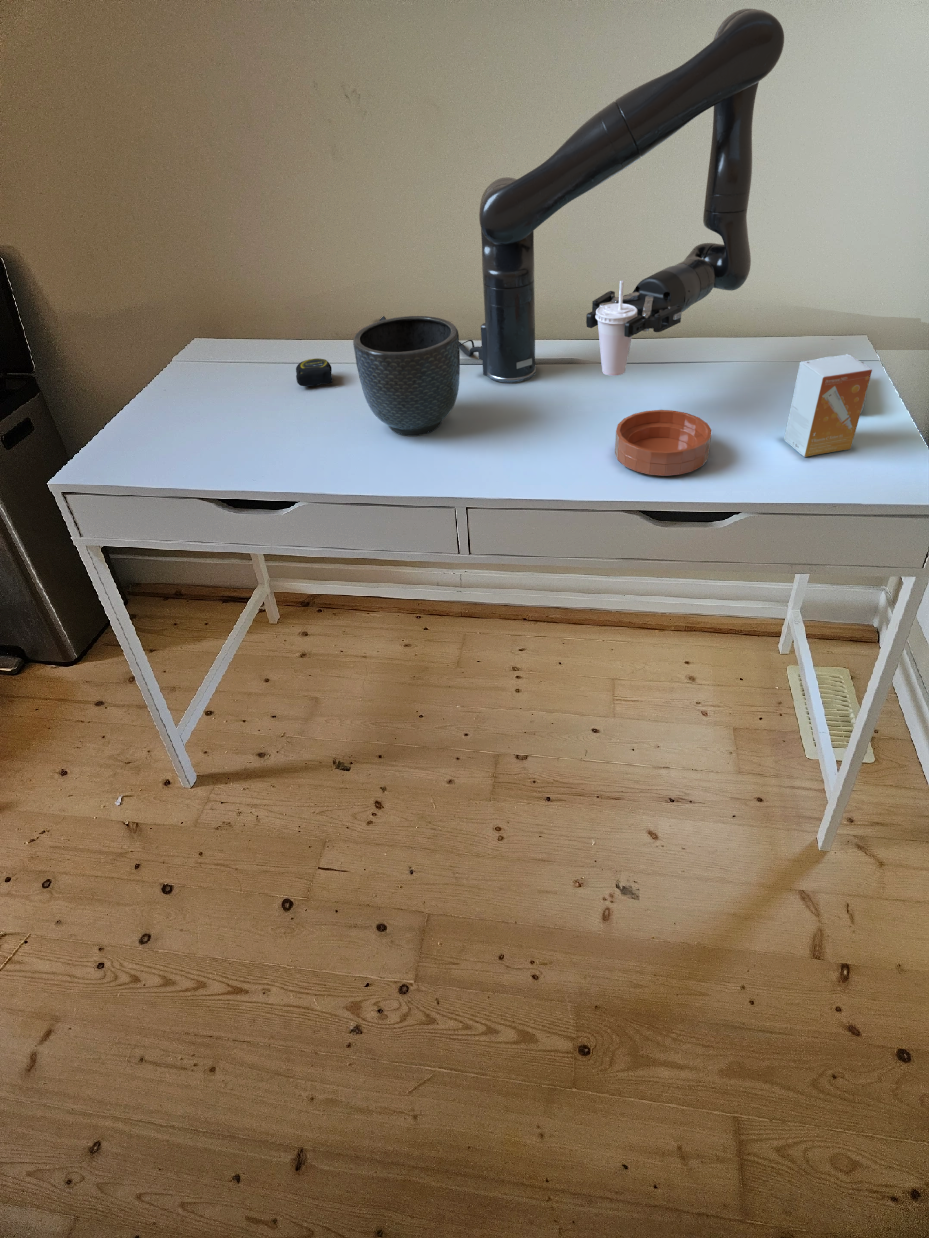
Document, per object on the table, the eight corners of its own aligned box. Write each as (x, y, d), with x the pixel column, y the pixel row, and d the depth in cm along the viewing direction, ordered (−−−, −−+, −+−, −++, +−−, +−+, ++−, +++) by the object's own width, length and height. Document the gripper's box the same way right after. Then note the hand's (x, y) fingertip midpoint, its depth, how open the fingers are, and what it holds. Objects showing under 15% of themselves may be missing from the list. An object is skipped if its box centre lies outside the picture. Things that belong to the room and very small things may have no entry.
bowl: (599, 466, 127) (600, 440, 124) (637, 428, 135) (639, 403, 133) (687, 487, 120) (690, 460, 117) (720, 446, 129) (724, 420, 126)
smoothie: (633, 379, 128) (638, 288, 119) (592, 379, 129) (594, 288, 120) (634, 363, 132) (640, 274, 123) (595, 362, 134) (597, 274, 125)
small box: (804, 458, 124) (822, 377, 116) (782, 440, 129) (798, 360, 121) (852, 450, 125) (873, 368, 117) (829, 432, 130) (848, 352, 122)
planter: (349, 441, 139) (333, 349, 129) (392, 399, 151) (381, 312, 141) (441, 453, 133) (432, 358, 123) (479, 408, 145) (473, 318, 135)
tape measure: (298, 391, 156) (294, 373, 154) (299, 377, 162) (295, 359, 159) (333, 387, 157) (330, 369, 154) (333, 373, 162) (330, 355, 160)
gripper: (631, 263, 135) (569, 293, 126) (709, 277, 127) (649, 310, 118) (628, 309, 139) (569, 340, 131) (703, 325, 131) (645, 360, 123)
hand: (607, 326), depth 124 cm, fingers closed on smoothie, 6 cm apart
